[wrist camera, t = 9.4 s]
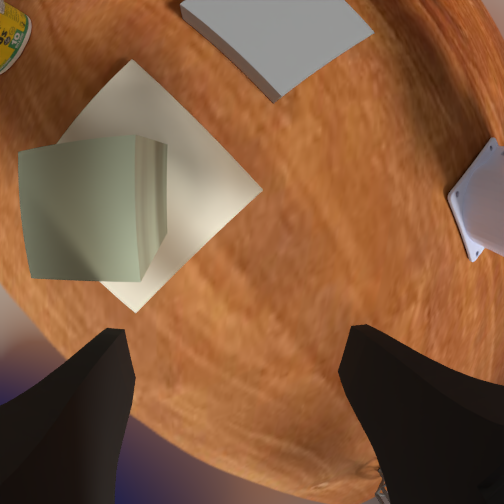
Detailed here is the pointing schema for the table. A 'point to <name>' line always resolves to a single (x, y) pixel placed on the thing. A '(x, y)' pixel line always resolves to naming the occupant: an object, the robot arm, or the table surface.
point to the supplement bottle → (12, 34)
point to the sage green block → (93, 208)
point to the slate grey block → (277, 36)
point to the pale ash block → (168, 171)
